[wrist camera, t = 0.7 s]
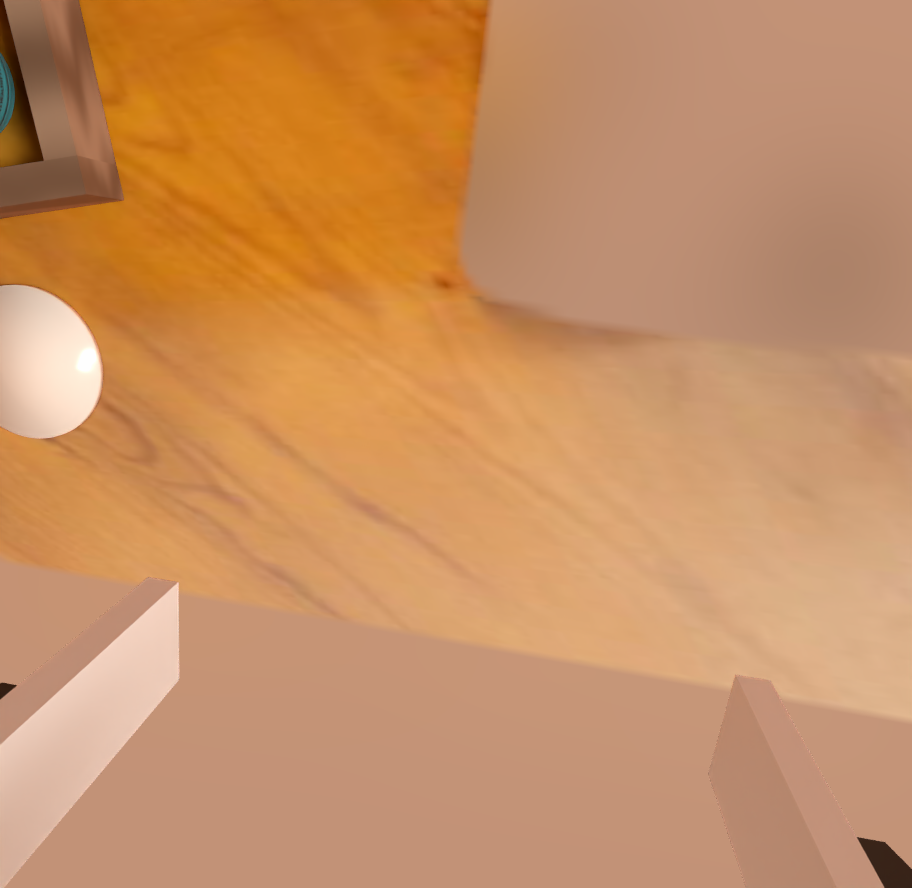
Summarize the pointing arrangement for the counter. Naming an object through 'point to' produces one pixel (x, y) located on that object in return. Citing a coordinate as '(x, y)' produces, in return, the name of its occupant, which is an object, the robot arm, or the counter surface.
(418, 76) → the counter surface
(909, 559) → the counter surface
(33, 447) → the counter surface
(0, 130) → the beverage bottle
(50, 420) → the coaster
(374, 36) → the counter surface
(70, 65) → the holder
